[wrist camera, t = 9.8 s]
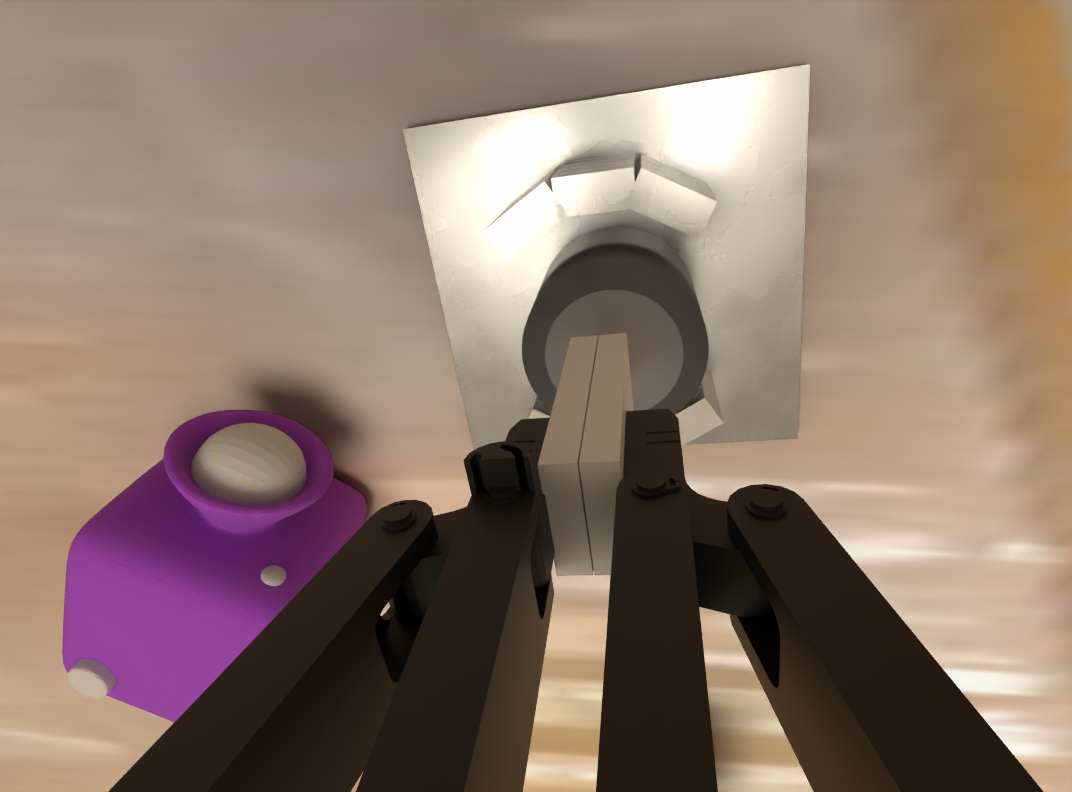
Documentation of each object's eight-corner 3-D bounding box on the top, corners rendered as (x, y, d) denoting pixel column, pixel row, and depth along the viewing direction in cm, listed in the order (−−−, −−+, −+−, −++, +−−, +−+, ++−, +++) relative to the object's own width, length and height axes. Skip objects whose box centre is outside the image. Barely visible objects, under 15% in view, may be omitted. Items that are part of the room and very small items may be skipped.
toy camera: (393, 404, 30) (289, 546, 21) (371, 611, 36) (283, 787, 27) (172, 348, 30) (-24, 464, 21) (189, 563, 36) (44, 721, 28)
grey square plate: (407, 128, 24) (360, 139, 20) (806, 64, 21) (845, 62, 17) (478, 448, 30) (452, 508, 26) (794, 431, 27) (821, 495, 23)
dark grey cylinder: (530, 235, 24) (507, 275, 20) (692, 218, 23) (707, 255, 19) (550, 378, 27) (533, 442, 22) (696, 368, 26) (711, 433, 21)
